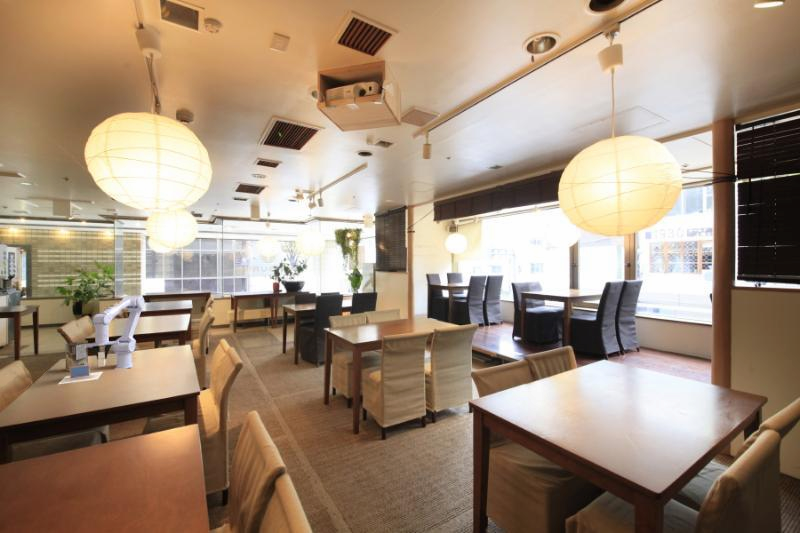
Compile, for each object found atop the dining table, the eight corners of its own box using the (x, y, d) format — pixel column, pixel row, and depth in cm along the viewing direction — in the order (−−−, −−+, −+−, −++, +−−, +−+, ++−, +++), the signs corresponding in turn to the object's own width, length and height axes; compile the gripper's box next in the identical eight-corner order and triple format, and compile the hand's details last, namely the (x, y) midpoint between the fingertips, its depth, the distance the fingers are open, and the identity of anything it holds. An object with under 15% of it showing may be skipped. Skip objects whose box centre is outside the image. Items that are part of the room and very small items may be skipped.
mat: (65, 377, 189) (65, 376, 189) (103, 372, 197) (103, 371, 197) (57, 385, 177) (57, 384, 177) (97, 379, 186) (97, 379, 186)
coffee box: (88, 369, 203) (88, 342, 202) (76, 372, 197) (76, 345, 196) (77, 367, 205) (77, 341, 205) (64, 370, 199) (64, 344, 198)
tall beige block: (100, 363, 193) (100, 350, 192) (106, 363, 194) (106, 349, 194) (98, 366, 188) (98, 352, 187) (104, 366, 189) (104, 352, 189)
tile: (70, 377, 187) (70, 366, 187) (90, 374, 192) (90, 364, 191) (70, 378, 186) (70, 367, 186) (89, 375, 190) (89, 365, 190)
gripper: (83, 338, 183) (83, 362, 183) (117, 335, 191) (117, 358, 191) (86, 335, 189) (86, 359, 189) (119, 332, 197) (119, 355, 197)
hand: (102, 358), depth 191 cm, fingers closed on tall beige block, 2 cm apart
